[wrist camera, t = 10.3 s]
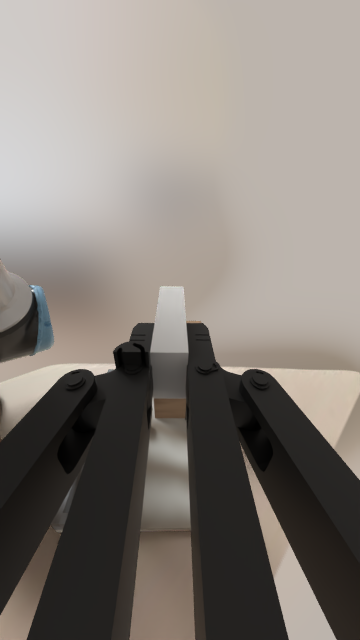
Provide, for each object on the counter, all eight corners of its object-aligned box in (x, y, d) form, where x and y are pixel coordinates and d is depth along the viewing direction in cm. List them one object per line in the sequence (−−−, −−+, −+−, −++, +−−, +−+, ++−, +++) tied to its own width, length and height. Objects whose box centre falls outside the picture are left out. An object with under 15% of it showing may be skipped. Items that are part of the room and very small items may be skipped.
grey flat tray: (225, 530, 27) (228, 522, 25) (57, 532, 26) (49, 524, 25) (203, 379, 48) (204, 370, 47) (110, 379, 48) (108, 369, 46)
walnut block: (198, 418, 39) (205, 350, 30) (154, 418, 39) (150, 349, 30) (195, 384, 46) (200, 321, 37) (158, 383, 46) (155, 320, 37)
